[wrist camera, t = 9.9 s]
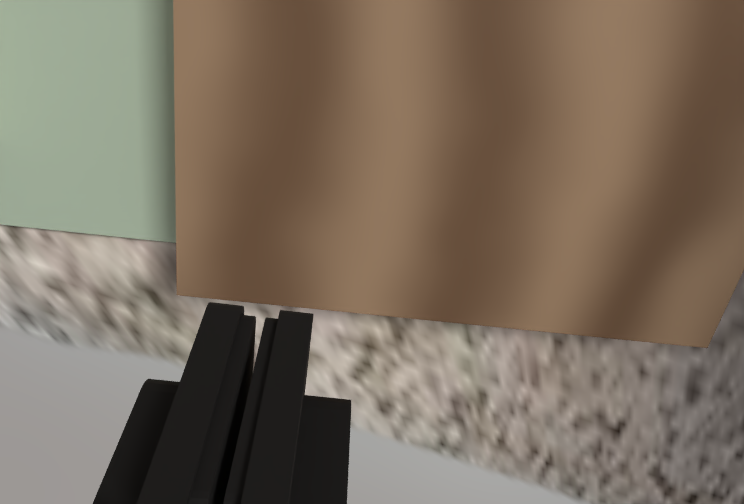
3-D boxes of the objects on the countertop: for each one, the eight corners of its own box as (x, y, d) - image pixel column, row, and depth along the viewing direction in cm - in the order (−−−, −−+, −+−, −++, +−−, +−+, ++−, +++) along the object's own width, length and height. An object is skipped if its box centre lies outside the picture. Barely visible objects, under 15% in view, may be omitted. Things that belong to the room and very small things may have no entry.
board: (811, -61, 23) (889, -43, 20) (668, 289, 30) (707, 347, 27) (201, -151, 22) (171, -148, 18) (198, 240, 29) (176, 295, 26)
